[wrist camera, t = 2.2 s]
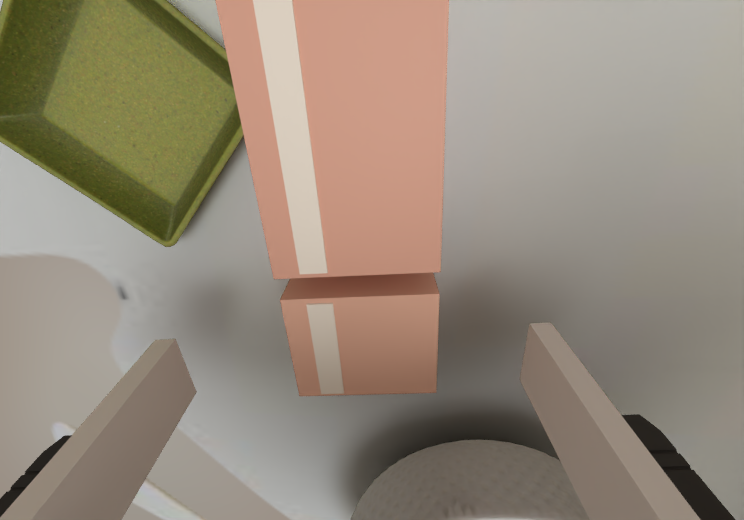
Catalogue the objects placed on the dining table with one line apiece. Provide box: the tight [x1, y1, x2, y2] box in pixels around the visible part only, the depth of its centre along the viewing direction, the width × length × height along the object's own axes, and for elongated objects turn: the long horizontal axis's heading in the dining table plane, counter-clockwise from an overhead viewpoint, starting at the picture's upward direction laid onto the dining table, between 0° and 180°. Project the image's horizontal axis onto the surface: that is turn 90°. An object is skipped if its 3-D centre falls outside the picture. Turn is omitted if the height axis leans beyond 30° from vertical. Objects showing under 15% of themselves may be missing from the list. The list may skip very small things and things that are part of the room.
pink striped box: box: [215, 0, 449, 279], centre depth 13 cm, size 10×6×5 cm, turn 3°
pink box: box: [280, 272, 439, 396], centre depth 16 cm, size 5×6×5 cm
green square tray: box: [0, 0, 244, 247], centre depth 14 cm, size 9×9×2 cm
